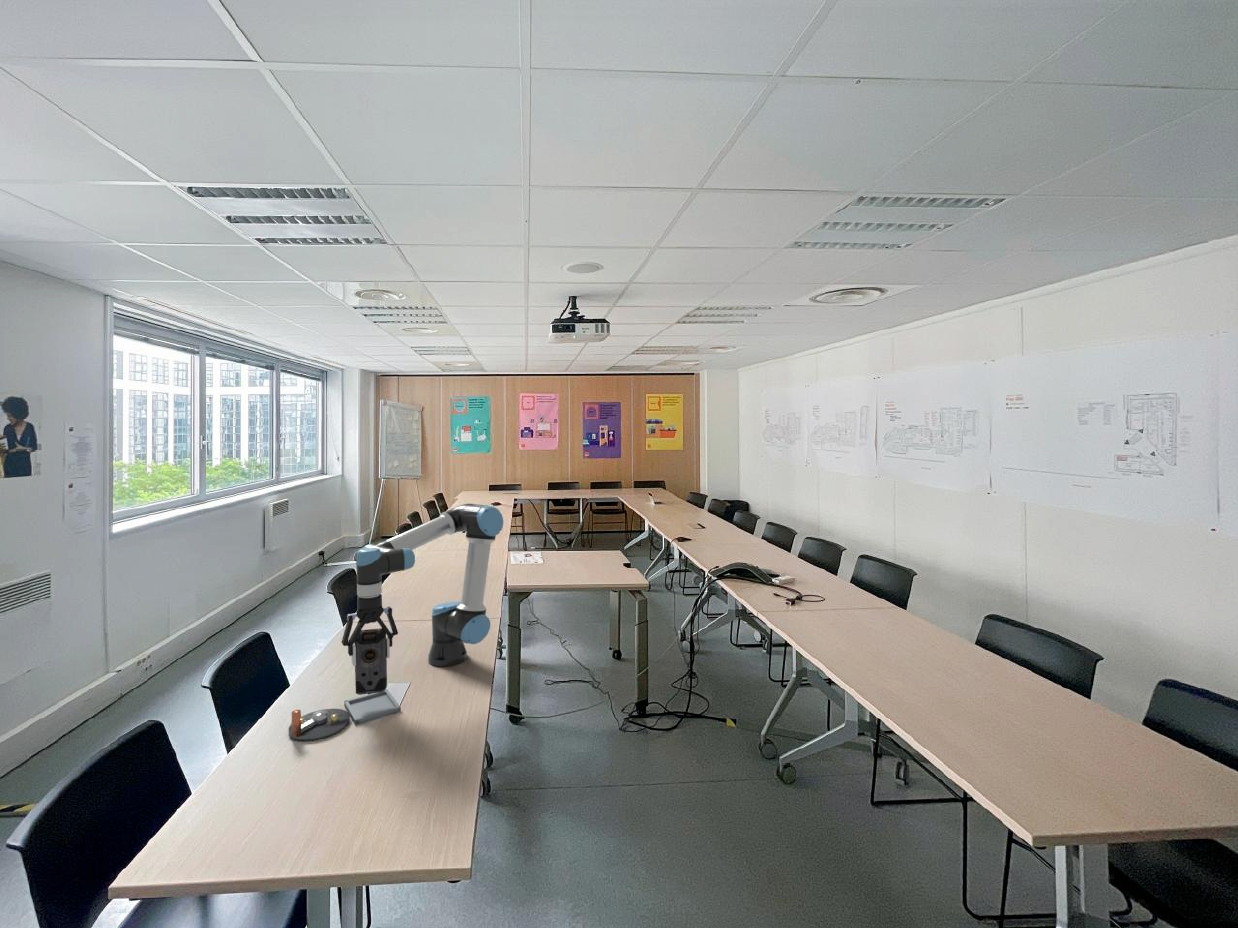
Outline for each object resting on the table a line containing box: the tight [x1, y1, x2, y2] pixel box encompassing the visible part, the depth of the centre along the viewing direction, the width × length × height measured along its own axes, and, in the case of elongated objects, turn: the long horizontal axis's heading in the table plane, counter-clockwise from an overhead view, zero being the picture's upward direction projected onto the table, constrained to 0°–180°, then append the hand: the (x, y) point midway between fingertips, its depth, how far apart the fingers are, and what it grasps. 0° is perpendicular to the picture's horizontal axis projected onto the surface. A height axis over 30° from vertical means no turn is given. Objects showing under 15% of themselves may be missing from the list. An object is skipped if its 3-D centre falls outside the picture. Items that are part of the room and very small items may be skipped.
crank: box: [291, 709, 328, 736], centre depth 168 cm, size 11×4×7 cm, turn 159°
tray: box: [343, 688, 402, 726], centre depth 183 cm, size 14×16×2 cm
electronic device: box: [354, 627, 388, 696], centre depth 182 cm, size 9×6×20 cm, turn 106°
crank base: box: [288, 708, 351, 743], centre depth 172 cm, size 17×17×4 cm
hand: (370, 660), depth 182 cm, fingers closed on electronic device, 10 cm apart
